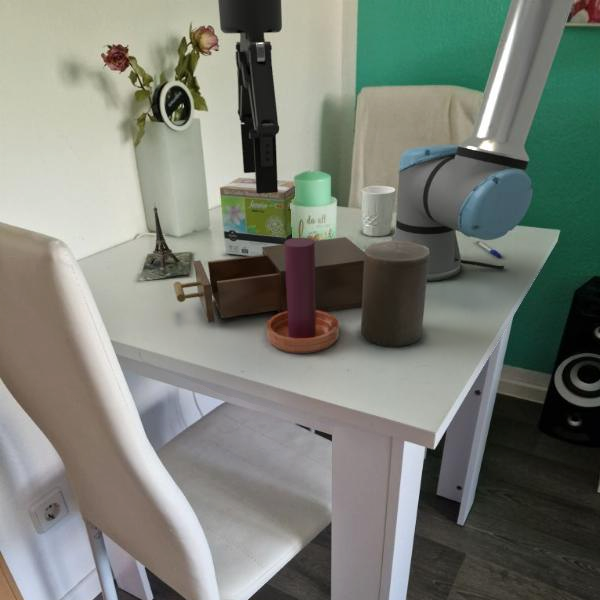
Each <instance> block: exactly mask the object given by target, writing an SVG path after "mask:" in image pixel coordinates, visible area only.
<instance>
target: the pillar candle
mask: <svg viewBox="0 0 600 600" xmlns="http://www.w3.org/2000/svg"><path fill="white" fill-rule="evenodd" d="M363 252H364V273H363V296H362V306H361V323H360V326H361V327H360V332H361V336H362V337H363V338H364V339H365V340H366V341H368V342H369V343H372V344H374V345H379V346H383V347H389V348H395V347H405V346H409V345H412V344H415V343H416V342H418V341H419V340H420V339H421V338H422V333H423V325H424V324H423V323H424V314H425V304H426V294H427V282H428V281H427V274H428V263H429V248H427V247H426V246H423V245H419V244H417V243H412V242H402V241H391V240H382V241H378V242H375V243H372V244H369V245H367V246H366V247H365V248H364V251H363Z"/></svg>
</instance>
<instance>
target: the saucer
mask: <svg viewBox="0 0 600 600" xmlns="http://www.w3.org/2000/svg"><path fill="white" fill-rule="evenodd" d="M265 330H266V338H267V340H268V342H269V343H270V344H271V345H273V346H274V347H275V348H276V349H279V350H281V351H284V352H287V353H293V354H311V353H316V352H320V351H322V350H325V349H327V348H329V347H330V346H331V345H333V344H334V343H335V342H336V341H337V340H338V338H339V335H340V334H339V333H340V332H339V331H340V324H339V320H338V319H337V317H336V316H334V315H333V314H331V313H329V312H328V311H326V312H323V311H320V310H316V336H315V337H312V338H290V337H289V335H288V312H287V311H285V312H282V313H279V312H278V313H277V314H275V315H273V316H271V317H270V319H269V320H267V322H266V329H265Z"/></svg>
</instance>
